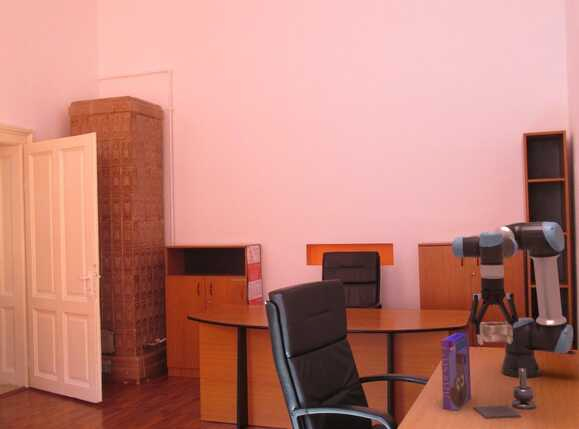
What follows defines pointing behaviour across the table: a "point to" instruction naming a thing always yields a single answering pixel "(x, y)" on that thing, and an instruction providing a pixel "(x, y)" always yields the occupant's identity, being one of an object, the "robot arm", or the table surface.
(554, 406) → the table surface
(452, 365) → the cereal box
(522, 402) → the steel stand
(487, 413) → the rubber mat
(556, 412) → the table surface
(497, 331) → the square frame
